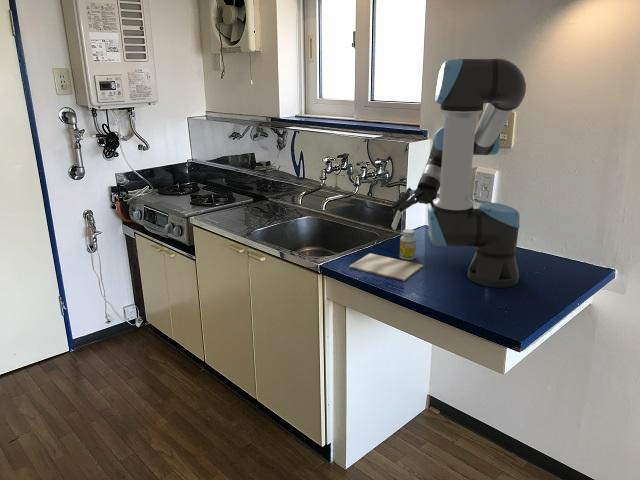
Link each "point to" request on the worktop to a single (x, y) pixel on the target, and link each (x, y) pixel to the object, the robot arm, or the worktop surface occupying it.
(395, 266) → the birch board
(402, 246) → the supplement bottle
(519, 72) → the robot arm
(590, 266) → the worktop surface
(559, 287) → the worktop surface
